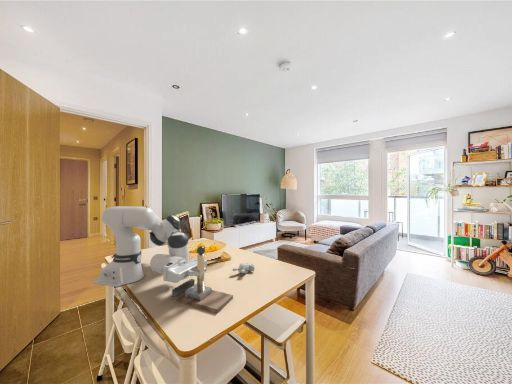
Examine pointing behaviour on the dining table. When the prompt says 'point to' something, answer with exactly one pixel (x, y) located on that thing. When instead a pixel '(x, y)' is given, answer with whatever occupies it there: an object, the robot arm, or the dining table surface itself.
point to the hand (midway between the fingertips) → (202, 272)
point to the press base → (209, 302)
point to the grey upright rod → (199, 279)
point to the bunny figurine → (245, 268)
